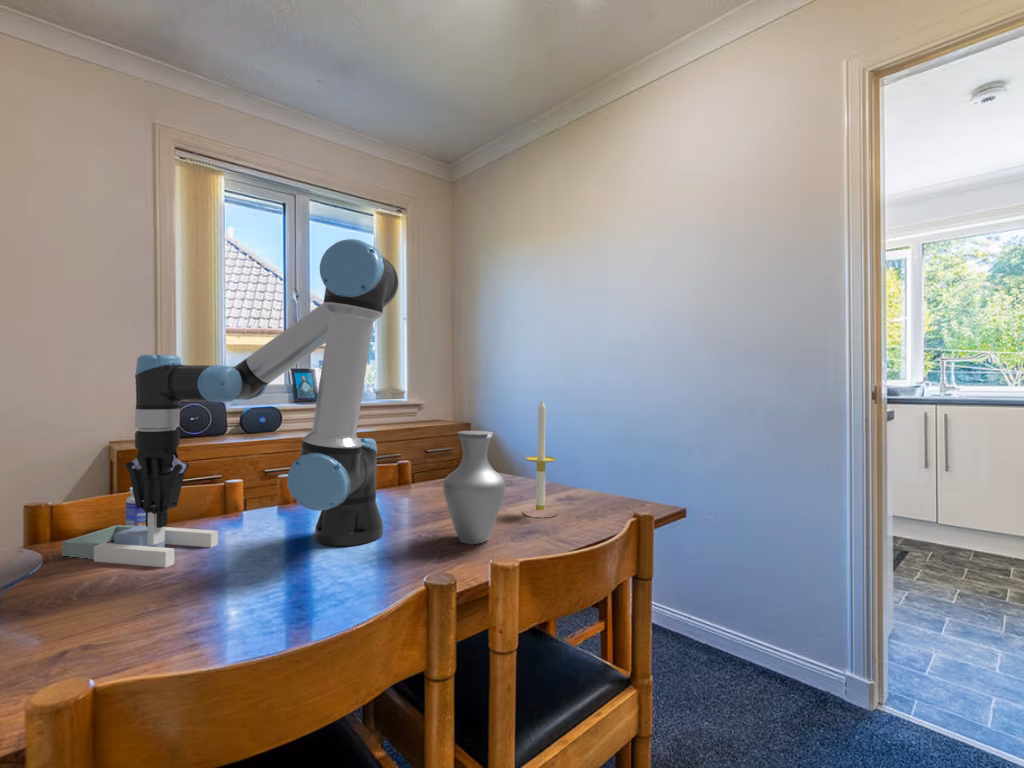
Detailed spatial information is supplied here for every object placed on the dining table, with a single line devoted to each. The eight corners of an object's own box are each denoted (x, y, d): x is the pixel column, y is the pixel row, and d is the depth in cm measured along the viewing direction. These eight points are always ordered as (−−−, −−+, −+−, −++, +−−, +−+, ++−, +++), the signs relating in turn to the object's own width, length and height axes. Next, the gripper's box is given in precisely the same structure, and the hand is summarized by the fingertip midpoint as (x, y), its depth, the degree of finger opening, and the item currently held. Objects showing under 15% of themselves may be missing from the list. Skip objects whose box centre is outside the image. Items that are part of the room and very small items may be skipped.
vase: (517, 540, 114) (519, 432, 114) (471, 555, 103) (473, 437, 103) (475, 526, 124) (477, 427, 123) (429, 539, 113) (431, 431, 113)
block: (164, 547, 105) (165, 526, 105) (139, 557, 99) (139, 535, 99) (140, 546, 106) (140, 525, 106) (113, 555, 100) (113, 533, 100)
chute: (217, 544, 107) (218, 530, 107) (165, 567, 94) (165, 551, 94) (153, 539, 110) (153, 526, 110) (93, 561, 96) (93, 546, 96)
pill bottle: (138, 531, 115) (138, 490, 115) (119, 529, 116) (120, 488, 116) (159, 524, 121) (159, 485, 121) (141, 523, 122) (141, 484, 122)
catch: (146, 540, 109) (146, 527, 109) (94, 559, 98) (94, 544, 98) (116, 538, 110) (116, 525, 110) (62, 556, 99) (62, 541, 99)
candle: (534, 506, 144) (536, 396, 144) (564, 512, 138) (566, 397, 138) (515, 514, 136) (517, 396, 136) (545, 520, 130) (548, 398, 130)
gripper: (199, 428, 105) (198, 538, 105) (146, 426, 106) (144, 534, 107) (170, 432, 97) (168, 550, 97) (113, 429, 99) (111, 546, 99)
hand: (156, 542), depth 102 cm, fingers closed
